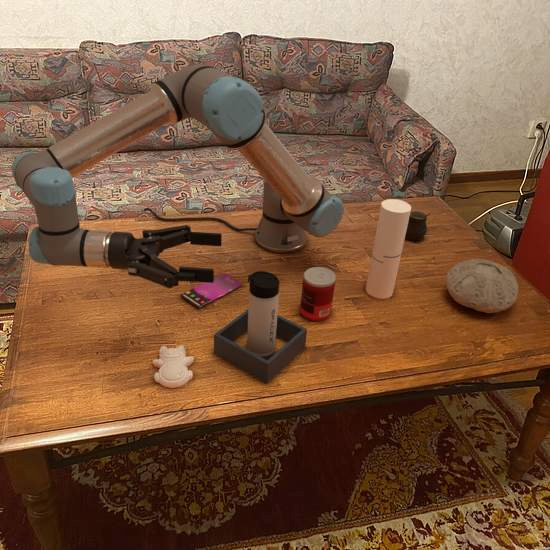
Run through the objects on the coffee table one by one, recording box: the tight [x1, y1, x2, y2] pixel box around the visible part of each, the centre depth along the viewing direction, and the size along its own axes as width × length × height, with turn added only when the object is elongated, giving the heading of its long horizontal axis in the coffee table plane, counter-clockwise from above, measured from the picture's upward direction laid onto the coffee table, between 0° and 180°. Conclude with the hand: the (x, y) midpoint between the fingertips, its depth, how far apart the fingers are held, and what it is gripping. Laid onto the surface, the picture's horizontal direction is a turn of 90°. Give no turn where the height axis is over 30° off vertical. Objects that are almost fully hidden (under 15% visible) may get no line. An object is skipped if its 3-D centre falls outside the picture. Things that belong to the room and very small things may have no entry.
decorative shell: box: [445, 257, 520, 314], centre depth 143 cm, size 18×18×10 cm
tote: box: [213, 308, 308, 384], centre depth 123 cm, size 15×15×6 cm
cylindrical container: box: [365, 198, 412, 300], centre depth 140 cm, size 7×7×25 cm
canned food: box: [299, 266, 337, 322], centre depth 134 cm, size 8×8×11 cm
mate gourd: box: [405, 210, 432, 242], centre depth 169 cm, size 7×8×10 cm
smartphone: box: [180, 272, 243, 309], centre depth 142 cm, size 7×15×1 cm, turn 137°
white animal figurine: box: [152, 344, 195, 389], centre depth 118 cm, size 9×12×3 cm
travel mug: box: [246, 270, 280, 360], centre depth 119 cm, size 6×7×20 cm
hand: (217, 257), depth 111 cm, fingers open, 13 cm apart
